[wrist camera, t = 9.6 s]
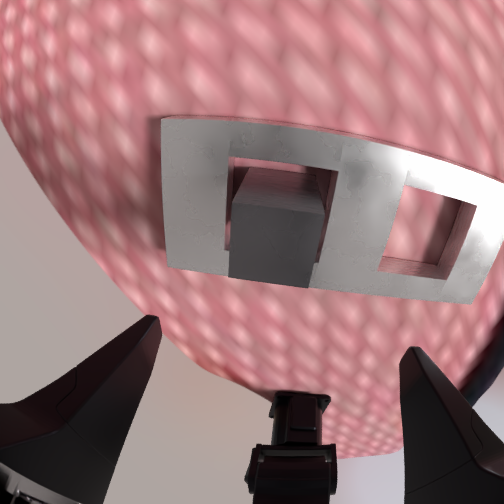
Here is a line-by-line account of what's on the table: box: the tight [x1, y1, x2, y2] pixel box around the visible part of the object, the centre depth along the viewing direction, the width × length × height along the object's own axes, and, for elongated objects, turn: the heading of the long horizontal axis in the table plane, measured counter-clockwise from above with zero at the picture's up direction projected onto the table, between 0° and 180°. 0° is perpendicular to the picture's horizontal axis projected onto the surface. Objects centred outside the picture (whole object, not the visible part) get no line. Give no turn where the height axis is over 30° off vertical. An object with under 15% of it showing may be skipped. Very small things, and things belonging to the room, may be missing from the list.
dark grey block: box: [228, 167, 325, 288], centre depth 16 cm, size 4×4×6 cm
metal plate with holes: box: [161, 115, 504, 304], centre depth 17 cm, size 10×24×2 cm, turn 85°
